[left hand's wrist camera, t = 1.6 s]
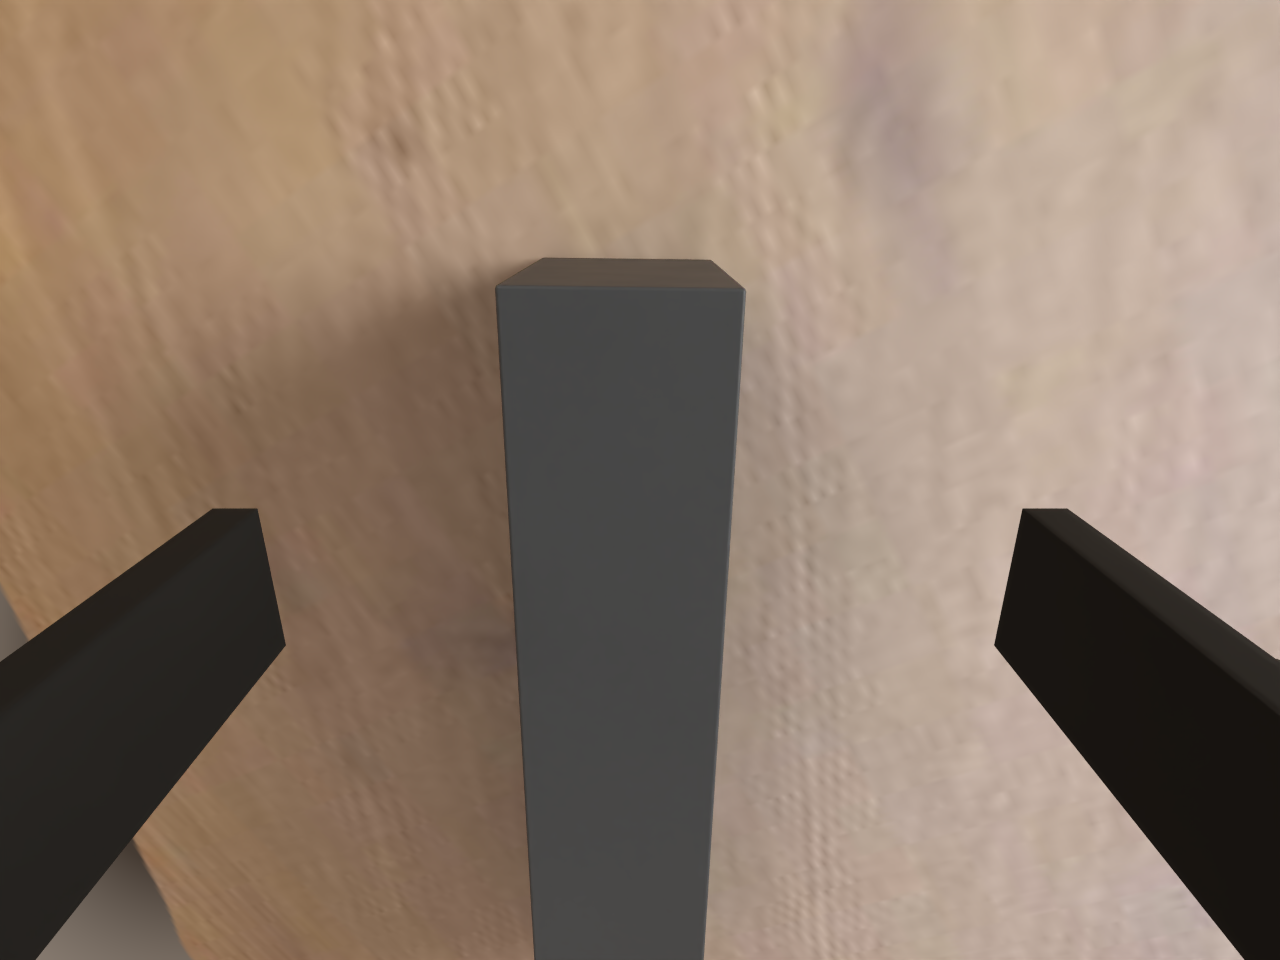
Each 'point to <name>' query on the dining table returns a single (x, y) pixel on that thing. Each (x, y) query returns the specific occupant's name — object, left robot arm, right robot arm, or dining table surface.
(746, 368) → the dining table surface
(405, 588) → the dining table surface
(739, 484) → the dining table surface
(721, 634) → the bar
